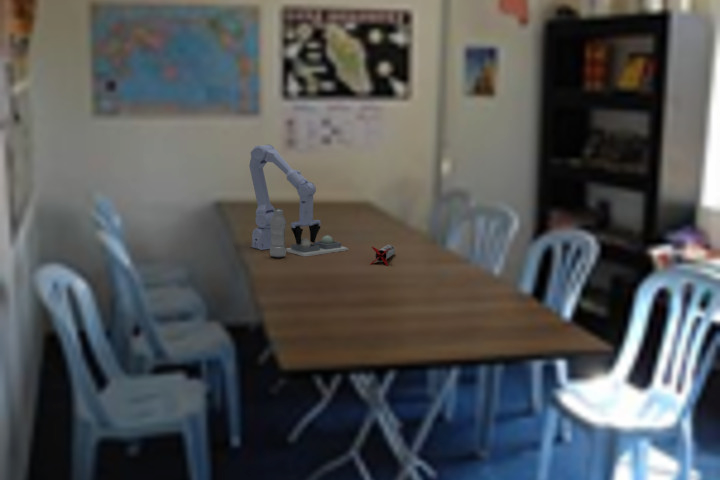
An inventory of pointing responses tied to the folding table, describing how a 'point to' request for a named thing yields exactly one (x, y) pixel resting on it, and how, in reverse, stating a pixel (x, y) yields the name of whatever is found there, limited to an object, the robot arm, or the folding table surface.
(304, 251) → the ball sorting tray
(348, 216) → the folding table surface
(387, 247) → the model rocket
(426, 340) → the folding table surface
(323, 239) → the sage ball
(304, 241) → the ivory ball
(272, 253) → the plastic bottle
